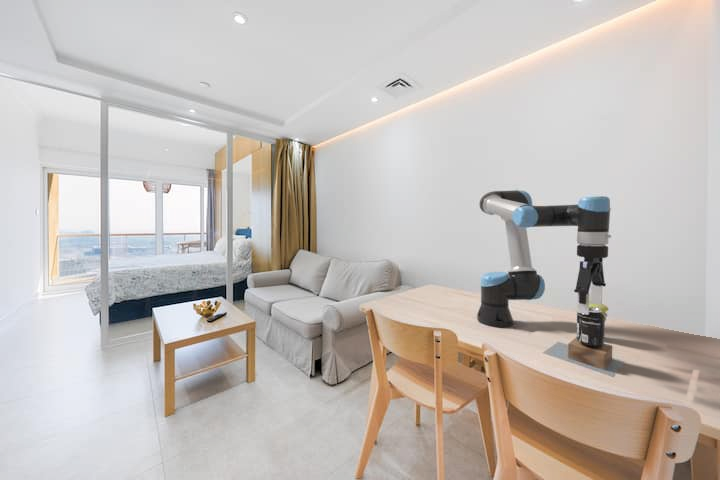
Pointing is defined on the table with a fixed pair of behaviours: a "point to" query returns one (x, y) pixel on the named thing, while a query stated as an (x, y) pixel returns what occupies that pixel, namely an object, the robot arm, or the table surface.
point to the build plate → (561, 352)
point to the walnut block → (590, 354)
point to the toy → (602, 307)
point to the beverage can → (591, 328)
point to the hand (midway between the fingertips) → (589, 308)
